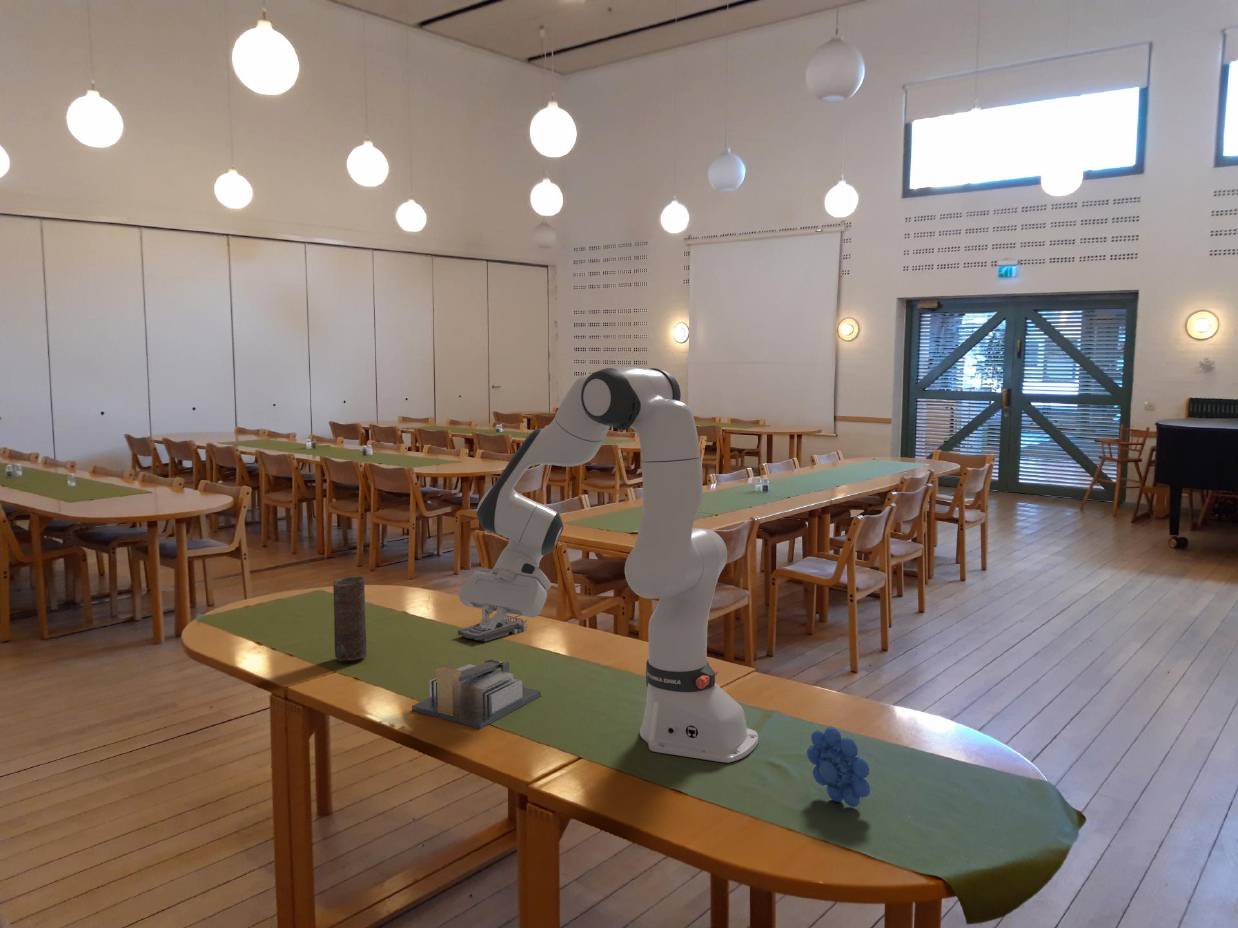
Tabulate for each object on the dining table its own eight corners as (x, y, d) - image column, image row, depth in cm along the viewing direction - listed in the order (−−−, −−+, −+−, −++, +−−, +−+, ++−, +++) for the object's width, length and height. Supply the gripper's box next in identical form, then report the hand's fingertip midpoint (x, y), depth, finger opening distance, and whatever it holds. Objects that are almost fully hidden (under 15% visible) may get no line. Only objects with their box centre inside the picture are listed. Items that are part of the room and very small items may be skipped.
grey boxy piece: (540, 695, 188) (540, 651, 187) (480, 728, 171) (479, 680, 170) (475, 680, 197) (475, 638, 196) (412, 710, 180) (410, 664, 179)
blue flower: (791, 797, 144) (792, 726, 142) (815, 783, 148) (817, 715, 147) (853, 824, 135) (855, 749, 134) (877, 809, 140) (879, 736, 138)
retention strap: (492, 664, 190) (493, 659, 190) (504, 667, 189) (504, 661, 189) (446, 680, 178) (446, 674, 178) (458, 683, 176) (459, 677, 176)
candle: (368, 662, 209) (365, 580, 207) (336, 666, 206) (333, 583, 204) (365, 653, 216) (362, 573, 214) (334, 656, 214) (330, 576, 211)
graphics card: (498, 611, 242) (527, 618, 234) (498, 624, 242) (528, 632, 234) (448, 625, 230) (477, 633, 222) (449, 639, 230) (478, 648, 222)
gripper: (470, 559, 195) (441, 612, 188) (545, 569, 185) (517, 626, 178) (483, 574, 200) (456, 627, 192) (557, 585, 189) (531, 641, 182)
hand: (486, 627), depth 185 cm, fingers closed
